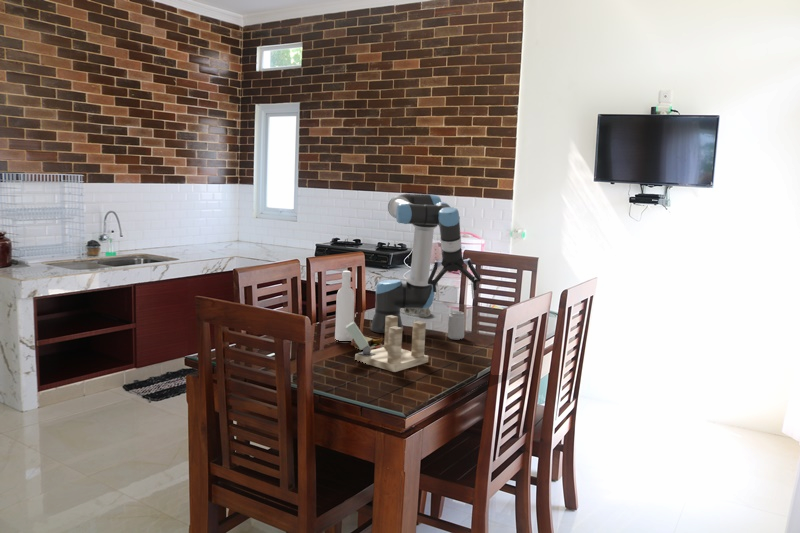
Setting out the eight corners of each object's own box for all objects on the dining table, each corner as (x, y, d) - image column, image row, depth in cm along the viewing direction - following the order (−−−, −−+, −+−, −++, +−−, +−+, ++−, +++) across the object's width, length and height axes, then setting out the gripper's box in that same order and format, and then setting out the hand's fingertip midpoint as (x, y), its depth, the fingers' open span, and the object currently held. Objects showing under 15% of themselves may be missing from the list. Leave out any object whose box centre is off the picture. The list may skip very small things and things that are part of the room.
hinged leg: (364, 356, 244) (346, 328, 242) (364, 353, 247) (346, 325, 245) (372, 351, 244) (353, 323, 242) (372, 349, 247) (353, 321, 245)
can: (463, 340, 285) (464, 314, 283) (446, 339, 286) (447, 312, 285) (464, 337, 292) (466, 311, 291) (448, 335, 294) (449, 309, 292)
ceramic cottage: (401, 309, 349) (404, 282, 346) (431, 312, 347) (434, 285, 344) (397, 316, 334) (400, 288, 331) (429, 320, 332) (431, 292, 329)
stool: (354, 360, 245) (356, 320, 243) (389, 351, 261) (391, 314, 259) (394, 372, 233) (396, 330, 231) (428, 362, 248) (430, 322, 246)
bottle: (330, 339, 276) (333, 270, 272) (344, 337, 281) (347, 269, 277) (343, 343, 270) (346, 273, 266) (357, 340, 276) (359, 271, 272)
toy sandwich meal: (374, 354, 257) (375, 342, 256) (346, 348, 263) (346, 337, 262) (389, 348, 268) (390, 336, 267) (361, 342, 274) (362, 332, 273)
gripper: (417, 254, 239) (423, 304, 248) (485, 250, 236) (488, 301, 245) (419, 246, 246) (424, 295, 255) (484, 242, 242) (487, 291, 252)
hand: (455, 298), depth 250 cm, fingers open, 13 cm apart
